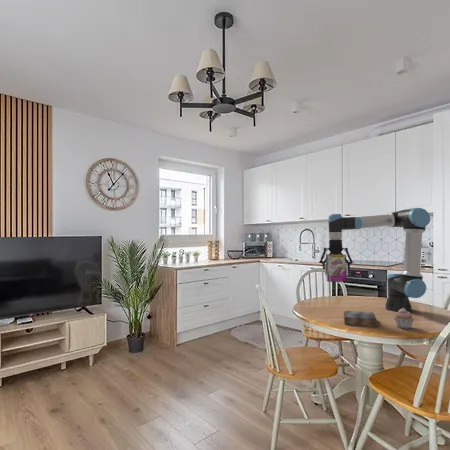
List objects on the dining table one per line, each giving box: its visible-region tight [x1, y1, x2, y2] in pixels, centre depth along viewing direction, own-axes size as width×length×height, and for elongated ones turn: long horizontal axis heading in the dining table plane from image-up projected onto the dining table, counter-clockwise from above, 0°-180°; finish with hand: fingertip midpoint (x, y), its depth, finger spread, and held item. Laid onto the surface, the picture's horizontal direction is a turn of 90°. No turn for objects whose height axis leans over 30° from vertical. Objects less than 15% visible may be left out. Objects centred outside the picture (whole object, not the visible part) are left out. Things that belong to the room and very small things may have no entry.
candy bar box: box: [325, 253, 348, 283], centre depth 189 cm, size 11×5×16 cm, turn 83°
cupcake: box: [393, 308, 415, 330], centre depth 162 cm, size 9×9×10 cm
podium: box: [343, 310, 378, 328], centre depth 173 cm, size 16×16×4 cm
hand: (336, 275), depth 189 cm, fingers closed on candy bar box, 12 cm apart
